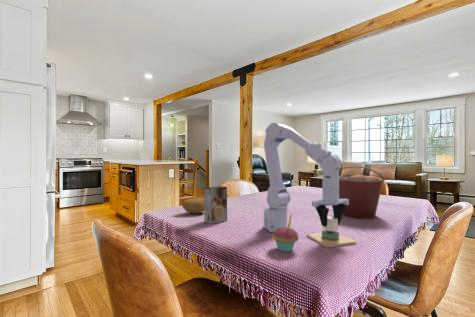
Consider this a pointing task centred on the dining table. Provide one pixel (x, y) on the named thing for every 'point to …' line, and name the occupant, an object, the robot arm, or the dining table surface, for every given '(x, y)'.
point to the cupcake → (285, 237)
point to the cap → (331, 224)
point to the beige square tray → (330, 239)
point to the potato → (194, 205)
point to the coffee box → (215, 204)
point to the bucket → (360, 195)
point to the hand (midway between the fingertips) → (330, 225)
